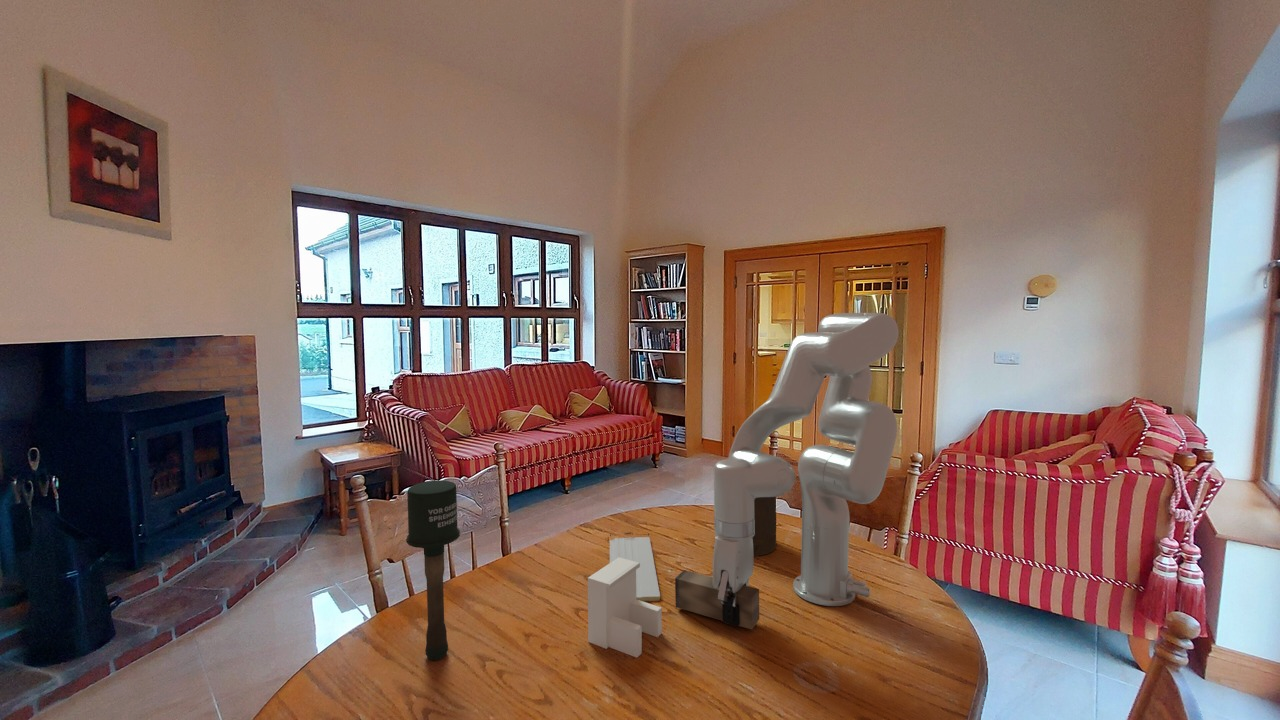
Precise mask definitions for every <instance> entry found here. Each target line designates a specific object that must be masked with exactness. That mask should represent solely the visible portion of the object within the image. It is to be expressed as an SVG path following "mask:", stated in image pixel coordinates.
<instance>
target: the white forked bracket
mask: <svg viewBox="0 0 1280 720" xmlns="http://www.w3.org/2000/svg"><path fill="white" fill-rule="evenodd" d="M639 567H640V563H638V562H635V561H631V560H627V559H624V558H620V557H618V558H617V559H615V560H614V561H612V562H611V563H610V562H609V563H608V564H606V565H605V566H603V567H602V568H601V569H599V570H597V571H596V572H594V573H593V574H591V575H590V576H589V577H587V621H588V622H587V623H588V624H587V630H588V631H587V637H588V638H587V640H588V641H587V642H588V643H591V644H593V645H595V646H598V647H601V648H603V649H606V650H607V649H608V648H610V649H613V650H616V651H619V652H621V653H623V654H626V655H629V656H632V657H635V658H639V656H641V654H642V651H643V650H642V647H643V644H642V637H643V636H642V633H644V634H646V635H649V636H653V637H655V638H659V637H660V636H661V634H662V631H663V629H662V626H663V625H662V624H663V623H662V620H663V618H662V616H663V614H662V609H663V608H662V607H661V606H658V605H655V604H652V603H648V602H647V601H640V600H636V569H638V568H639Z"/></svg>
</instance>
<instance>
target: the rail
mask: <svg viewBox="0 0 1280 720" xmlns="http://www.w3.org/2000/svg"><path fill="white" fill-rule="evenodd" d="M674 586H675V587H674V589H675V590H674V591H675V592H674V595H675V596H674V597H675V598H674V599H675V608H679V609H681V610H685V611H688V612H692V613H695V614H698V615H701V616H705V617H709V618H712V619H716V620H717V621H722V622H723V613H722V603H721V600H719V599H718V593H719V588H720V586H719V587H718V588H714V587H713V576H710V575H705V574H701V573H698V572H694V571H689V570H684V569H683V570H682V571H681V572H679V574H678V575H677V576H676V577H675V578H674ZM729 587H731V586H730V585H729ZM727 594H728V595H729V596H731V597H732V598H733V593H731V592H727ZM737 605H739V619H740V624H739V626H738V627H743V628H746V629H749V630H753V629H754V627H755V626H756V625H757V623H758V621H759V620H760V588H756V587H754V586H750V585H749V586H745V585H743V586H742V588H741V589H740V590H739V591H738V601H737Z"/></svg>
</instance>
